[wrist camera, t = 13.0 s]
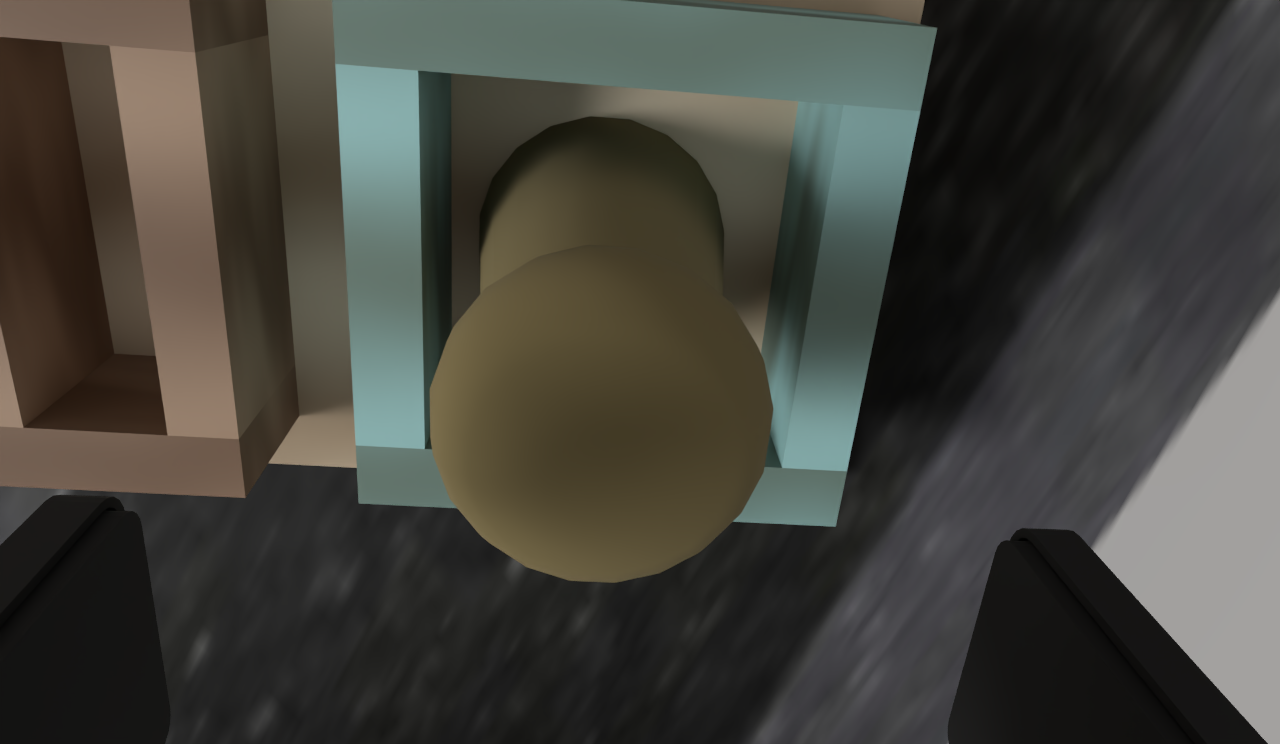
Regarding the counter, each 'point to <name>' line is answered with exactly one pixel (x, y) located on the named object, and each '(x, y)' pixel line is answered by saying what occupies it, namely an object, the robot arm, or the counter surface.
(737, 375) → the cork
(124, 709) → the robot arm
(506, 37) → the socket board
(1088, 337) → the counter surface
